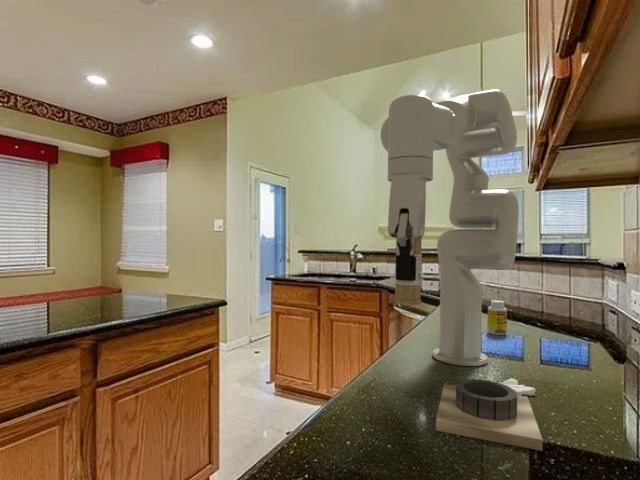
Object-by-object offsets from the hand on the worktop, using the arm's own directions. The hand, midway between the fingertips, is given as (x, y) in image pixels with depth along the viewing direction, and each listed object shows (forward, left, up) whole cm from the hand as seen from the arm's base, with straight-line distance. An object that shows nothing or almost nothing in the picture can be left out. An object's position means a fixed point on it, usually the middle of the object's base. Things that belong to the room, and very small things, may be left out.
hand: (408, 277), depth 66 cm
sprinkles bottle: (0, 0, -5) cm, 5 cm away
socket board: (-2, +12, -22) cm, 25 cm away
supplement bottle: (-68, +17, -22) cm, 73 cm away
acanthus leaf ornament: (-17, +17, -23) cm, 33 cm away
